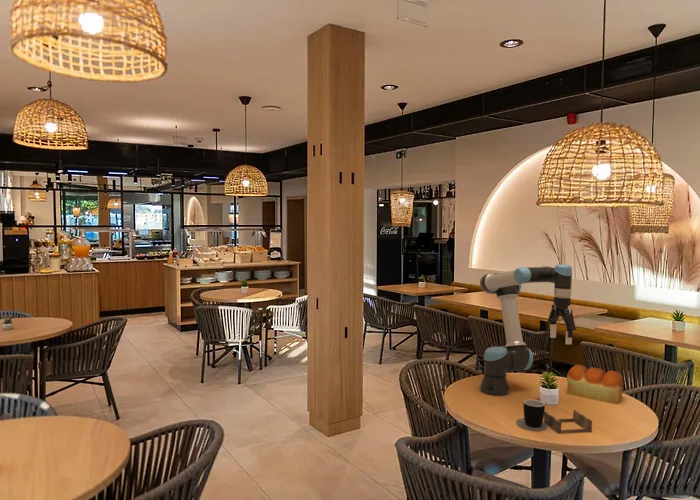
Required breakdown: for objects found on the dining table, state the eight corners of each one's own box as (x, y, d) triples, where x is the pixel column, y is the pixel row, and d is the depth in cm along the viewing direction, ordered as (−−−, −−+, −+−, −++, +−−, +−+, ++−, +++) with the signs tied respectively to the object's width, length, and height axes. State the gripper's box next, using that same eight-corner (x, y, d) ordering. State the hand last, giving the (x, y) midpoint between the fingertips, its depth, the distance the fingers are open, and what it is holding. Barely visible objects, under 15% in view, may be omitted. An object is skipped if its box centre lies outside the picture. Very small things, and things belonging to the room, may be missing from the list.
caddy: (543, 422, 238) (544, 411, 237) (575, 420, 240) (575, 410, 240) (558, 433, 225) (559, 422, 225) (591, 431, 228) (592, 420, 227)
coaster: (511, 420, 240) (511, 418, 240) (537, 418, 242) (537, 417, 242) (524, 431, 227) (525, 430, 227) (552, 430, 229) (552, 428, 229)
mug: (547, 428, 229) (548, 406, 228) (528, 429, 228) (529, 406, 227) (535, 418, 240) (535, 396, 240) (516, 418, 239) (517, 397, 239)
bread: (622, 398, 272) (624, 370, 271) (617, 405, 262) (618, 376, 261) (572, 388, 287) (573, 362, 287) (566, 394, 278) (567, 366, 277)
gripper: (541, 293, 260) (540, 335, 261) (569, 301, 235) (568, 347, 236) (555, 293, 261) (553, 334, 262) (585, 301, 236) (583, 347, 237)
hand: (560, 340), depth 249 cm, fingers open, 13 cm apart
